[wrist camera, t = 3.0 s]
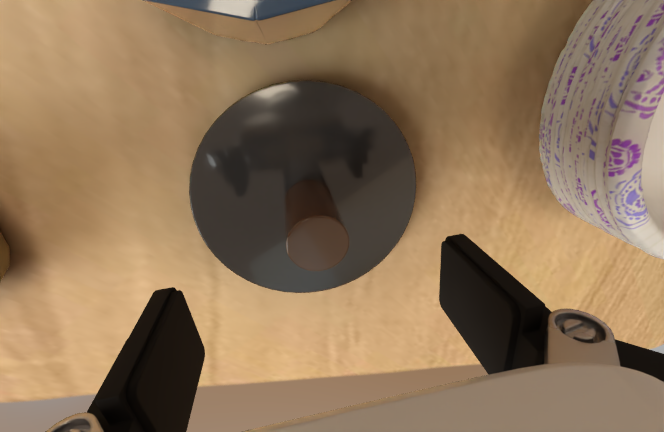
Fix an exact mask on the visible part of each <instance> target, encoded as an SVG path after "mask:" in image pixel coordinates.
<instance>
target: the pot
mask: <svg viewBox="0 0 664 432" xmlns="http://www.w3.org/2000/svg"><path fill="white" fill-rule="evenodd" d="M143 1H145V2H147V3H149V4H151V5H153V6H155V7H157V8H159V9H161V10H163V11H166V12H168V13H170V14H172V15H174V16H176V17H178V18H180V19H182V20H184V21H186V22H188V23H191V24H193V25H195V26H197V27H199V28H201V29H203V30H205V31H207V32H209V33H211V34H214V35H216V36H220V37H226V38H232V39H237V40H241V41H248V42H255V43H260V44H266V45H267V44H272V43H276V42H280V41H284V40H289V39H293V38H296V37H298V36H302V35H305V34H309V33H313V32H315V31H317V30H318V29H319V28H320V27H322V26H323V25H324V24H325V23H326V22H327V21H329V20H330V19H331V18H332V17H333V16H335V15H336V14H337V13H338V12H339V11H340V10H342V9H343V8H344V7H345V6H346V5H347V4H349V3H350V2H351V1H352V0H143Z"/></svg>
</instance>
